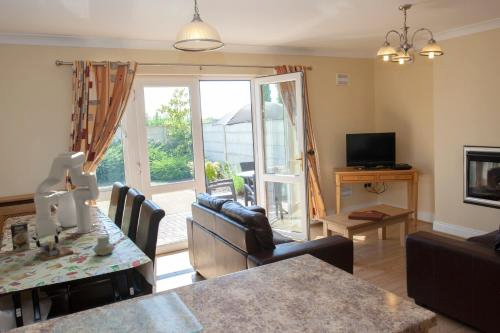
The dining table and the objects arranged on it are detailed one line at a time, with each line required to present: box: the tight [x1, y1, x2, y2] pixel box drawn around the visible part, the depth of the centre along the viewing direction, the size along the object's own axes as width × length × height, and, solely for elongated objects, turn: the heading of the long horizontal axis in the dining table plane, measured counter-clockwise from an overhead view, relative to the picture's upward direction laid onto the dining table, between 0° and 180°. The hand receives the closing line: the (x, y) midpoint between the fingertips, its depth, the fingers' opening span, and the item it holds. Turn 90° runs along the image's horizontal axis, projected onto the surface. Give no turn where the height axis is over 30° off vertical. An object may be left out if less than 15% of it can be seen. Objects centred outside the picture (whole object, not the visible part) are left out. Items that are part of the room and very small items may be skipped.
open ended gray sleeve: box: [40, 240, 60, 257], centre depth 226 cm, size 14×6×5 cm, turn 43°
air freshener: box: [93, 235, 115, 256], centre depth 223 cm, size 11×8×10 cm
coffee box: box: [10, 222, 31, 252], centre depth 241 cm, size 9×6×16 cm
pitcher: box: [47, 187, 77, 228], centre depth 295 cm, size 24×17×28 cm
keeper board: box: [35, 241, 74, 262], centre depth 226 cm, size 16×14×8 cm
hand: (47, 244), depth 228 cm, fingers open, 9 cm apart
